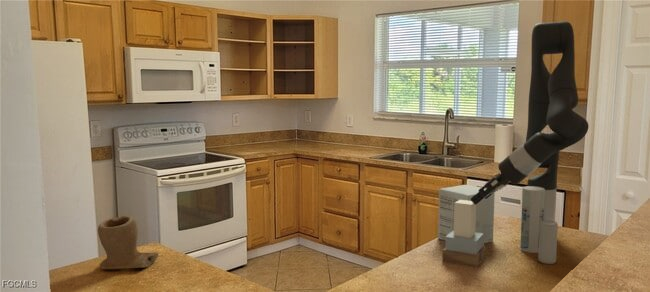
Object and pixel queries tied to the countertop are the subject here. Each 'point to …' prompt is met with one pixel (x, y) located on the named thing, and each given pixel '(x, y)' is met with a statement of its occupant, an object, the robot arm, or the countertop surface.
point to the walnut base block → (464, 257)
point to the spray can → (531, 217)
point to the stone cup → (122, 245)
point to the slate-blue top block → (464, 243)
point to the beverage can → (548, 242)
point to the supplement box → (466, 193)
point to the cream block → (464, 218)
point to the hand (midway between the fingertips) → (478, 199)
